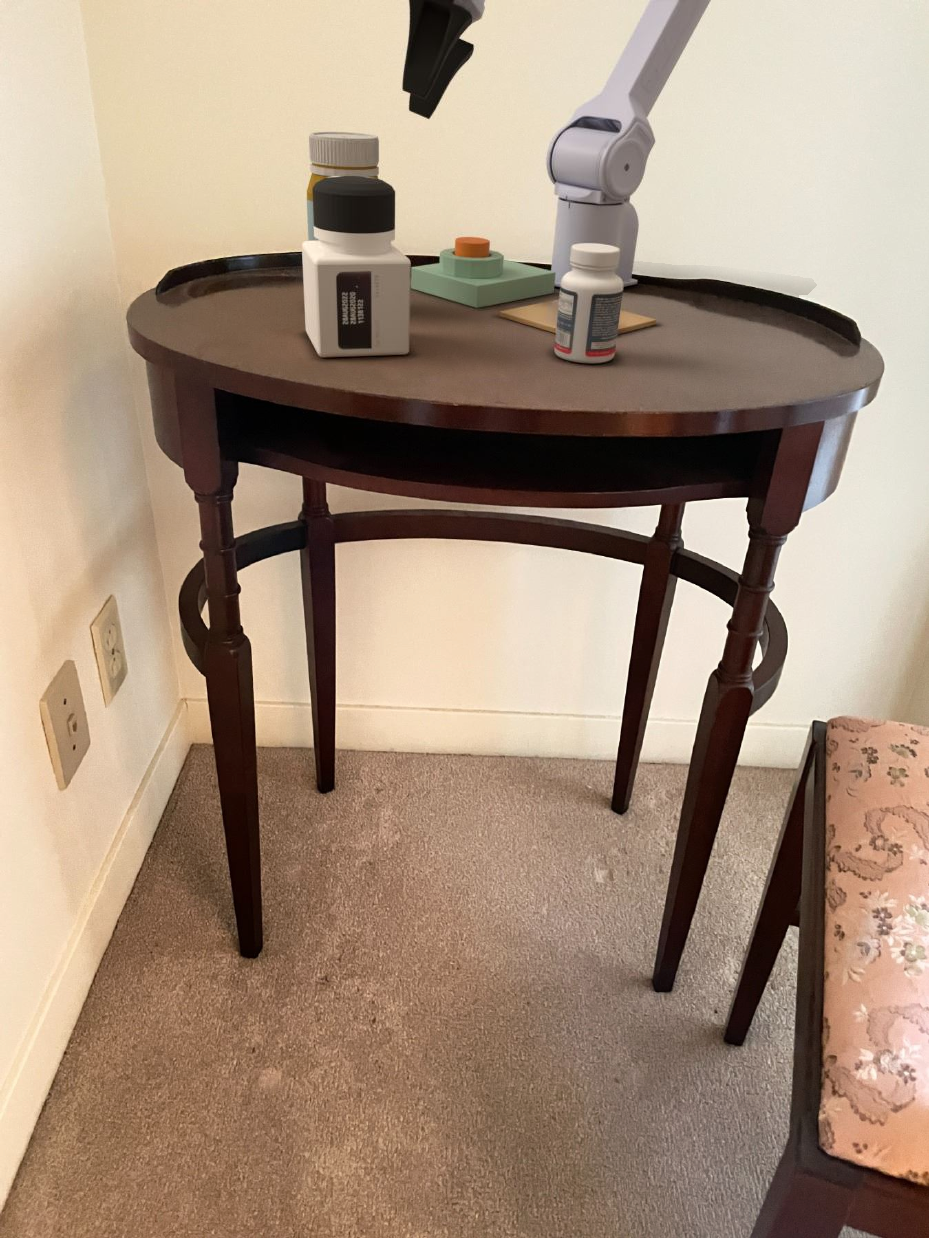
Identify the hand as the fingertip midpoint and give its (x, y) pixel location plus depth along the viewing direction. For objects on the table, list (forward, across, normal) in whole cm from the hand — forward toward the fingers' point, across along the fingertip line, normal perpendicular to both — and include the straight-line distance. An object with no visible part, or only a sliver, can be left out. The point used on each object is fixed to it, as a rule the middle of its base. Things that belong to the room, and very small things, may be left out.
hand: (416, 105), depth 80 cm
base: (+12, -12, +11) cm, 21 cm away
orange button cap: (+10, -10, +9) cm, 16 cm away
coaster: (+12, -2, +21) cm, 24 cm away
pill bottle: (+15, +9, +22) cm, 28 cm away
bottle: (+19, -2, 0) cm, 19 cm away
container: (+21, +10, +3) cm, 23 cm away
